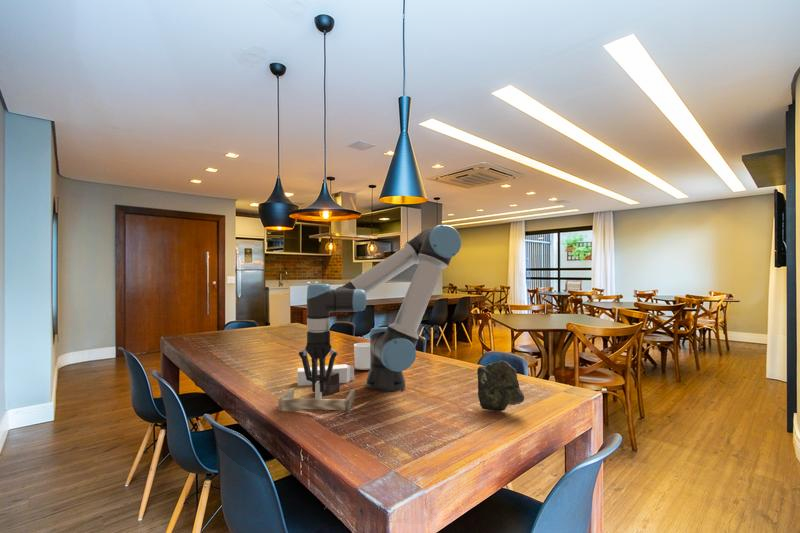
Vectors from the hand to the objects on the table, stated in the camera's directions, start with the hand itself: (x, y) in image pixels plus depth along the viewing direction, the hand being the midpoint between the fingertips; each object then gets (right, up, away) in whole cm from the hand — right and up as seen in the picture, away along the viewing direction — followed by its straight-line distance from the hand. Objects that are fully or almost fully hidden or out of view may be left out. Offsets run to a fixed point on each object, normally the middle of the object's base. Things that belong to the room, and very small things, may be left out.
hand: (318, 401), depth 127 cm
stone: (+59, -1, -5) cm, 59 cm away
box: (+1, -1, +11) cm, 12 cm away
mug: (+12, -1, +47) cm, 48 cm away
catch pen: (0, -1, 0) cm, 1 cm away
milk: (-13, +2, +21) cm, 25 cm away
